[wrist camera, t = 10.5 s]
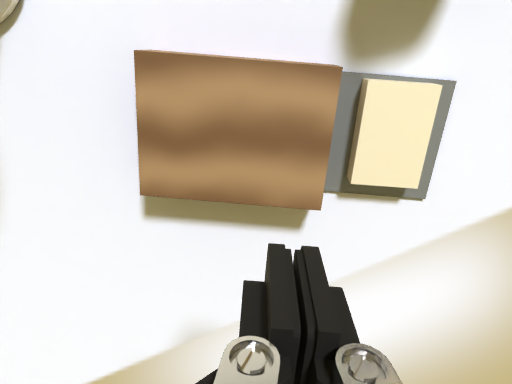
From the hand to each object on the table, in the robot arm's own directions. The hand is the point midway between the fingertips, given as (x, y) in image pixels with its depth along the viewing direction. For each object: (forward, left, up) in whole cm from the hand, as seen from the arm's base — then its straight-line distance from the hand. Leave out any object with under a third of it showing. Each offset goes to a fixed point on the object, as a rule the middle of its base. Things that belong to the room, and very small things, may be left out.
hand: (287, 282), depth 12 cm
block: (-1, +10, -22) cm, 24 cm away
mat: (0, +10, -23) cm, 25 cm away
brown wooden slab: (0, -4, -23) cm, 24 cm away
